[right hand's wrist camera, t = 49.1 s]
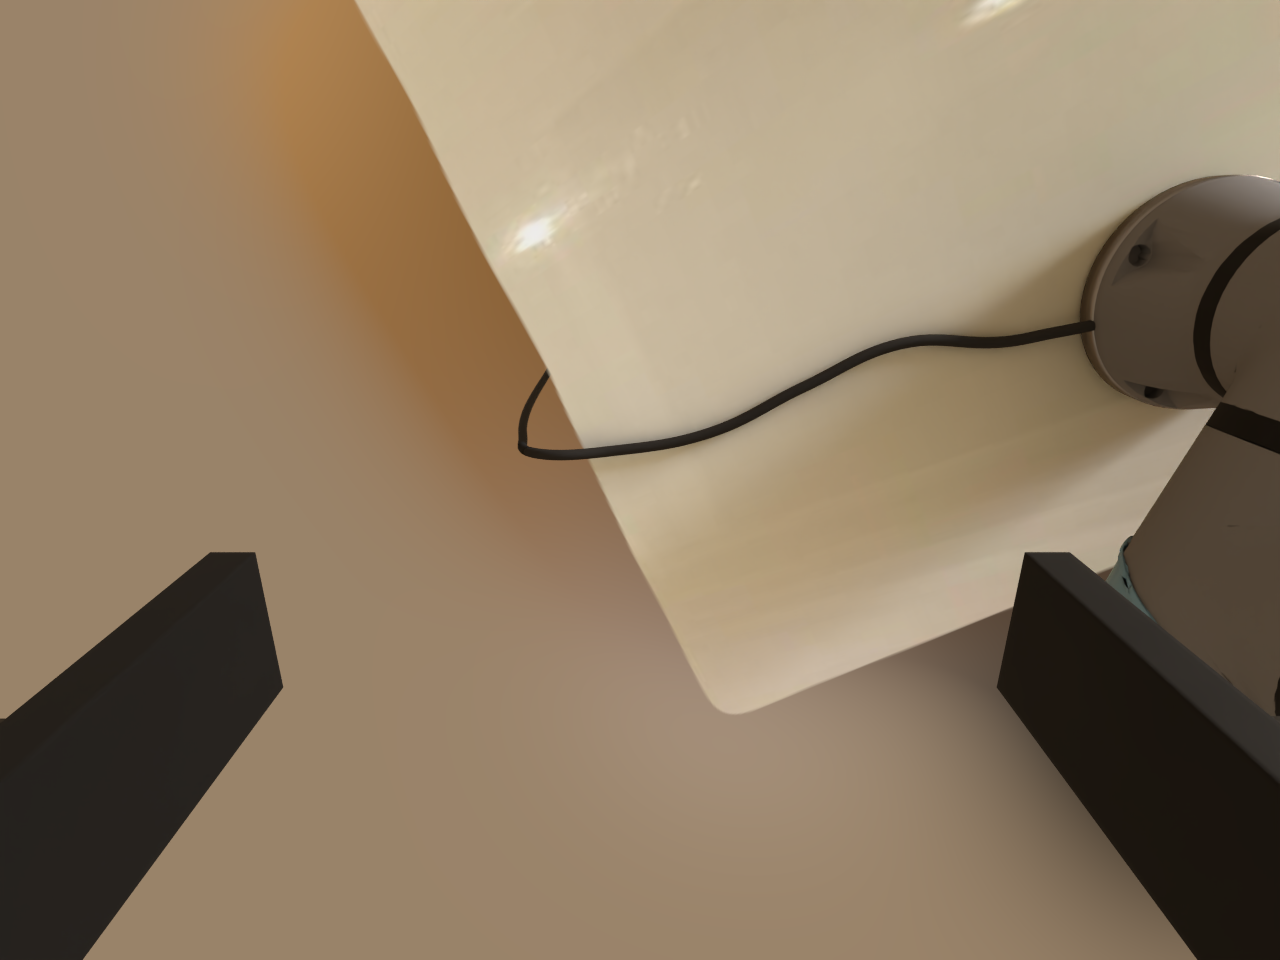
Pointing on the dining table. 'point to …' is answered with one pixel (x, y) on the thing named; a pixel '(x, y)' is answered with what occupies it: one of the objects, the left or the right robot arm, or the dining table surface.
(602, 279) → the dining table surface
